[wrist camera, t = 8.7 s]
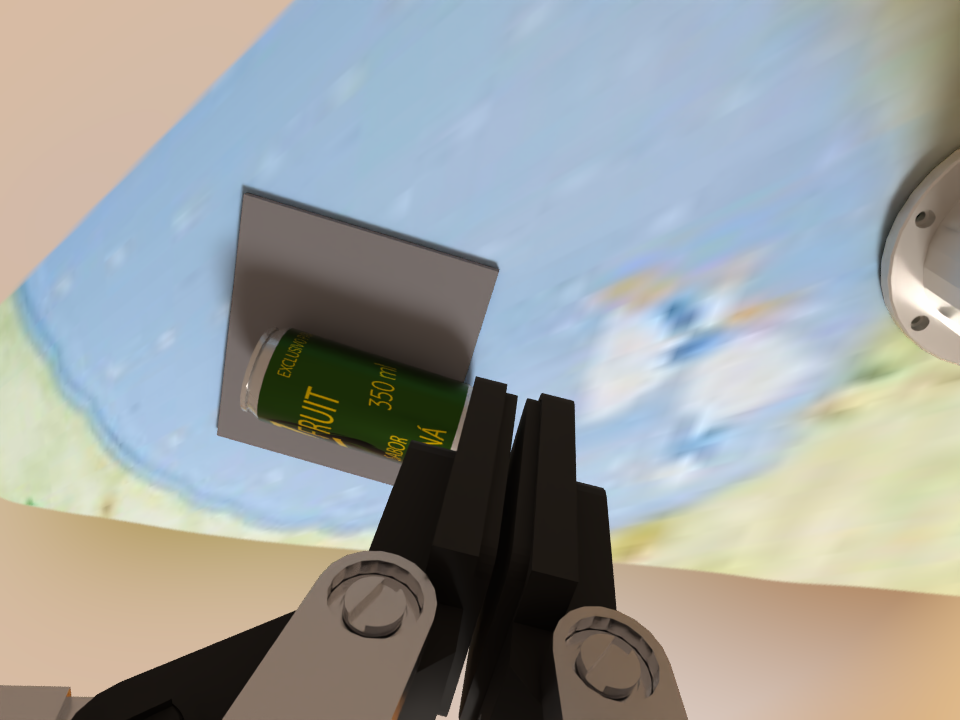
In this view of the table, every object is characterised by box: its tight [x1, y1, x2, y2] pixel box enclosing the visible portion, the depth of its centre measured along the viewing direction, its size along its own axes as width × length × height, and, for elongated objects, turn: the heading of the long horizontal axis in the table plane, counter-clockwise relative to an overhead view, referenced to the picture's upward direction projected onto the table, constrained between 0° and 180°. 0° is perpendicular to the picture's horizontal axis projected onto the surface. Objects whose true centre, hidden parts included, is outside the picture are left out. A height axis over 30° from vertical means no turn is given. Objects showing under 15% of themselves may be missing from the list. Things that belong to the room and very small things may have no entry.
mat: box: [217, 193, 499, 486], centre depth 38 cm, size 14×16×1 cm
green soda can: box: [240, 326, 473, 464], centre depth 36 cm, size 5×5×12 cm
